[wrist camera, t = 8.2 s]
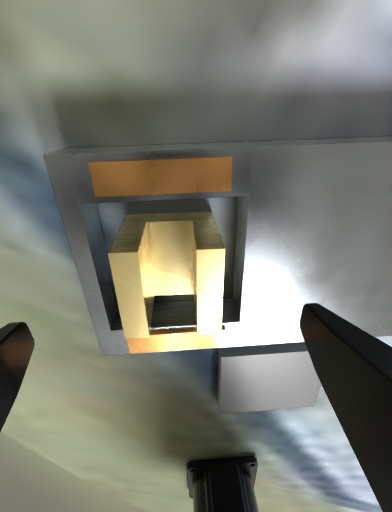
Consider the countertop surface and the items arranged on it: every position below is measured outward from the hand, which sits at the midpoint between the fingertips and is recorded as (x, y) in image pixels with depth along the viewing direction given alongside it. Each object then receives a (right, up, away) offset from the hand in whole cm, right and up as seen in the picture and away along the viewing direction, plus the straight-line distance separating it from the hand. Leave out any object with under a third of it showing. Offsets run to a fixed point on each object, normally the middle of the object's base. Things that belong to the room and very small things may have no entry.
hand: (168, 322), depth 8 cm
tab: (+6, -6, +10) cm, 13 cm away
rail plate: (+4, +3, +5) cm, 7 cm away
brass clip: (0, +3, +5) cm, 5 cm away
